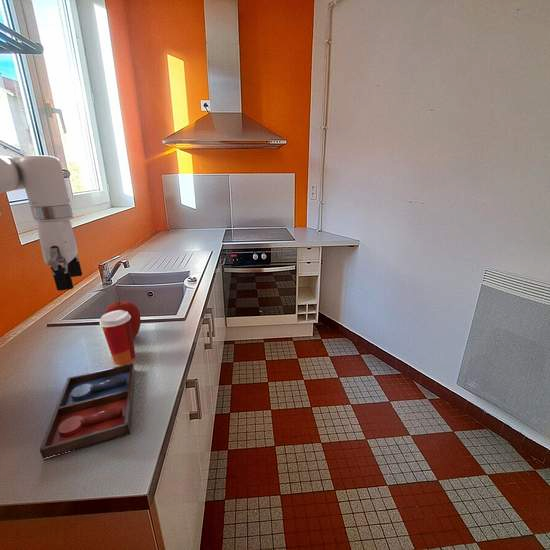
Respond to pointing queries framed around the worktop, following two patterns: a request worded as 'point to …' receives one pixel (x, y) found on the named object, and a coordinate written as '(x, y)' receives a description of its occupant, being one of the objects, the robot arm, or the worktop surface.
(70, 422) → the red spoon
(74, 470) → the worktop surface
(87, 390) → the blue spoon
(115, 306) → the apple
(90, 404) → the tray
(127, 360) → the paper cup
